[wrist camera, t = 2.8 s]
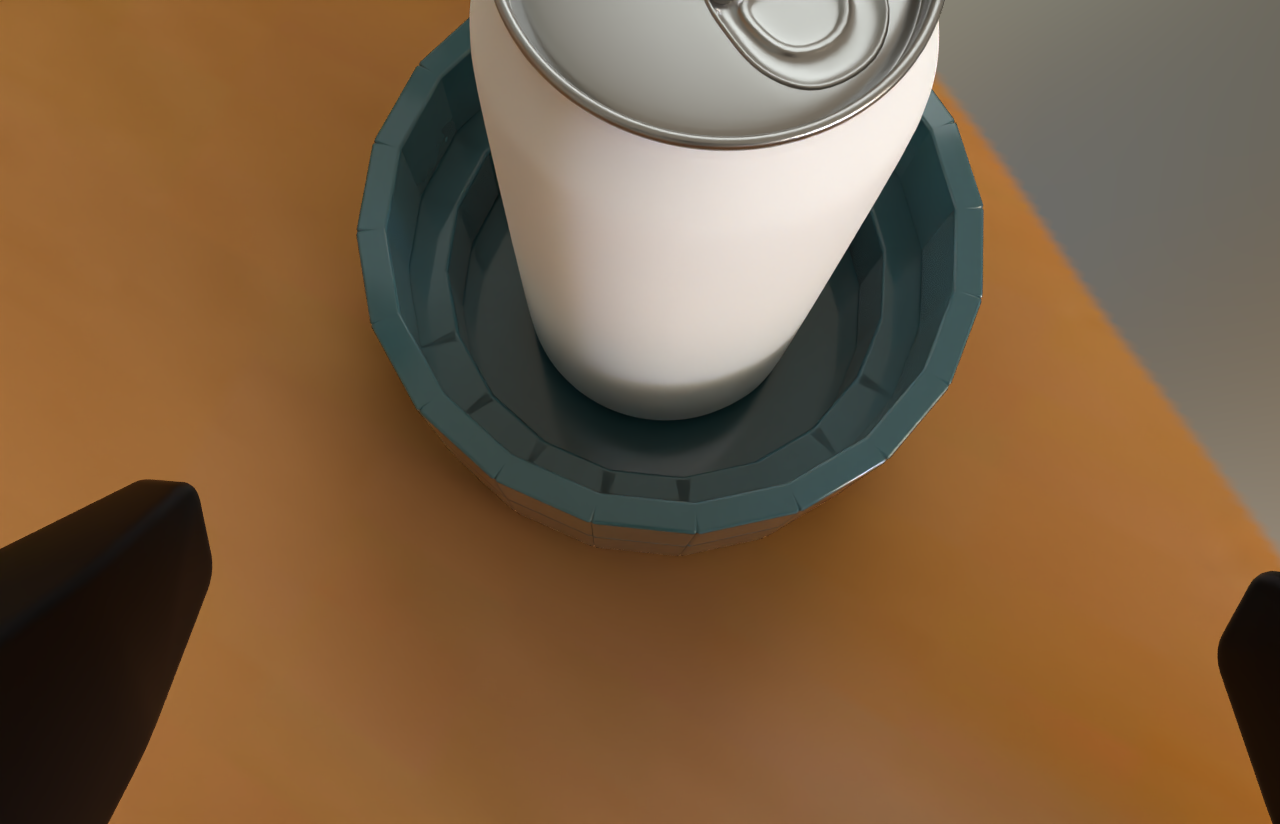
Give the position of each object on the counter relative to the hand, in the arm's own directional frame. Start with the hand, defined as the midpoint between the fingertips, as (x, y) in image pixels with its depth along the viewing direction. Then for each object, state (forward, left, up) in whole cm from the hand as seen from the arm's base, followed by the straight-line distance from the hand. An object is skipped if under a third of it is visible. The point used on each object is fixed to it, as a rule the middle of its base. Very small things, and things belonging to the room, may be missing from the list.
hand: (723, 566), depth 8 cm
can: (+4, +6, -14) cm, 16 cm away
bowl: (+4, +6, -14) cm, 16 cm away
